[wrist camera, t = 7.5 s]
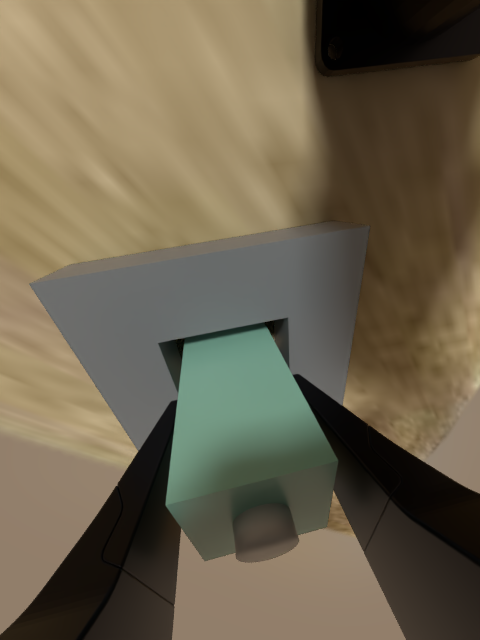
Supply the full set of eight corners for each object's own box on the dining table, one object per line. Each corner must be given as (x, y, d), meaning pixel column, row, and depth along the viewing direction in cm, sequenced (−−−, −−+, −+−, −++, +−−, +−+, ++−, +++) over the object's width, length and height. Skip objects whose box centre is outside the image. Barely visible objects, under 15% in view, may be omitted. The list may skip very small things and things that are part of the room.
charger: (258, 310, 12) (354, 491, 4) (263, 365, 14) (337, 553, 6) (186, 324, 12) (161, 542, 4) (202, 378, 14) (205, 591, 6)
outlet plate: (334, 220, 10) (370, 225, 8) (320, 396, 16) (339, 426, 14) (69, 264, 9) (29, 283, 7) (158, 432, 15) (151, 470, 13)
